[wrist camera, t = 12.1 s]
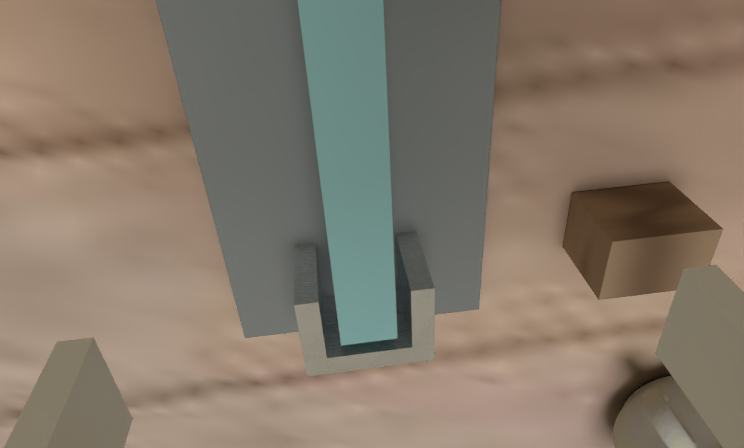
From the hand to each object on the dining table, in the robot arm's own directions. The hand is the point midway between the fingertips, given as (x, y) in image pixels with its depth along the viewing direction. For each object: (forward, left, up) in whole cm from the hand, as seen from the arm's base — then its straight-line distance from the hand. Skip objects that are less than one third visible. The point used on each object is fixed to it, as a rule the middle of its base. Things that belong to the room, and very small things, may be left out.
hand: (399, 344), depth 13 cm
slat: (0, 0, -17) cm, 17 cm away
